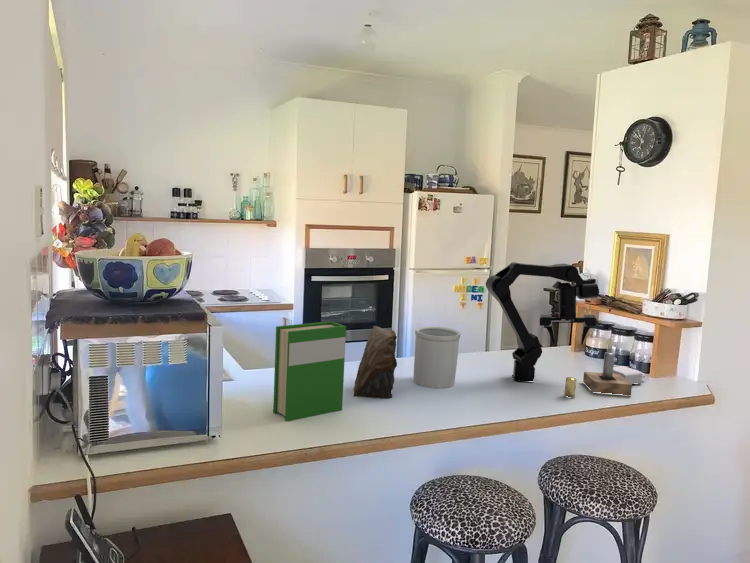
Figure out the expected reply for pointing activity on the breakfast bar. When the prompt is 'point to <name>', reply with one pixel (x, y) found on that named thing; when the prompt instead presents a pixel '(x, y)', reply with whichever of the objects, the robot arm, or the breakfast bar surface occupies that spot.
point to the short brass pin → (570, 387)
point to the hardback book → (309, 369)
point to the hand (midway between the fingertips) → (567, 344)
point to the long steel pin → (608, 366)
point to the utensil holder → (436, 356)
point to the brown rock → (377, 365)
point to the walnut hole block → (607, 383)
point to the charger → (629, 374)
